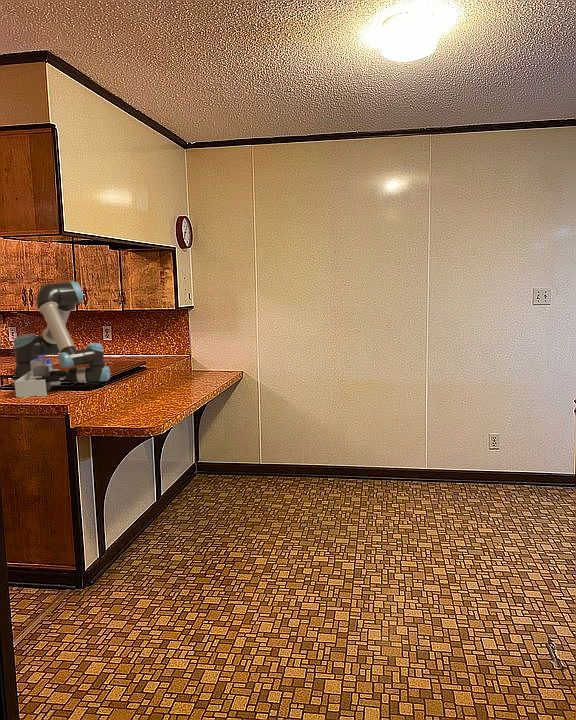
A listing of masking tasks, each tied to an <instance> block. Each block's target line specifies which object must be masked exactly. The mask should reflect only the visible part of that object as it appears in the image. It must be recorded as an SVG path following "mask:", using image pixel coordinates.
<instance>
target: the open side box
mask: <svg viewBox="0 0 576 720" xmlns="http://www.w3.org/2000/svg"><path fill="white" fill-rule="evenodd" d="M50 371H51V372H52V371H60V369H59V368H58V369H57V368H56V369H53V370H49V372H50ZM29 377H34V376H33V371H30V372H28V373H27V374H25V375H24V376H22V377H21V378H19V379H18V380H16V379H15V381H14V389H15V397H19V398H31V397H30V396H38V397H47V396H48V392H47V391H46V383H45V380H29ZM59 385H61V381H57V382H51V386H59ZM28 396H29V397H28Z"/></svg>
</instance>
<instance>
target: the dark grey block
mask: <svg viewBox="0 0 576 720" xmlns="http://www.w3.org/2000/svg"><path fill="white" fill-rule="evenodd" d="M42 375H43V376H44V377H45V376H50V373H49V366H36V367H35V368H33V376H34V377H36V376H42ZM51 389H52V385H51V382H47V383H46V391H47V393H48V392H49V391H51Z"/></svg>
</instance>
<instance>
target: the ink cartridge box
mask: <svg viewBox="0 0 576 720" xmlns="http://www.w3.org/2000/svg"><path fill="white" fill-rule="evenodd" d="M30 363H31V371H33V368H35V367H36V366H49V370H54V368H53V360H52V358H45V355H39V357H38V359H34V360H31V361H30Z"/></svg>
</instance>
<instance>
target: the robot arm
mask: <svg viewBox="0 0 576 720" xmlns="http://www.w3.org/2000/svg"><path fill="white" fill-rule="evenodd" d="M83 301H84V292H83V289H82V286H81V285H80V284H79V283H78V282H77V281H64V282H53V283H51V282H50V283H47V284H44V285H43V286H41V287H40V288H39V290H38V292H37V295H36V302H35V303H36V307H37V310H38V312H39V313H40V314H42V316H43V317H44V320H45V322H46V324H47V327H46V328H45V329H43V331H42V333H41V334H40V335H36V334H35V333H28V334H27V333H26V334H22V335H19V336H16V337H15V338H14V339H13V350H14V357H15V369H14V374H13V376H14V377H19V378H21V377H22V376H24V375H25V374H27V373H28V372H30V371H31V363H30V361H31V360H34V359H38V357H39V355H45V356H52V355H57V354H58V355H57V361H58V364H59V366H60V367H61V368H63V369H64V368H69V369H68V370H59V371H52V372H51V371H50V372H49V373H50V376H45V377H44V376H43V375H42V376H36V377H29V380H45V383H47V382H57V381H60V382H65V381H67V380H69V382H70V383H71V384H74V383H75V384H76V383H77V384H78V382H79V383H83V384H86V383H93V382H99V383H100V382H107V381H109V380H110V378H111V370H110V367H109V366H107V365H106V364H105V357H104V356H105V355H104V347H103V344H102V343H100V342H92V343H88V344H87V345H86V348H84V349H83V348H82V349H77V347H75V345H74V341H73V339H72V337H71V335H70V333H69V330H68V329H67V326H66V325H67V323H68V319H69V316H70V315H71V314H70V313H71V311H73V310H74V309H75V308H76V307H77V304H82V302H83ZM83 365H88V366H86V367H84V366H83ZM77 366H82V367H77ZM19 378H14V380H15V381H16V380H18V379H19Z"/></svg>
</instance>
